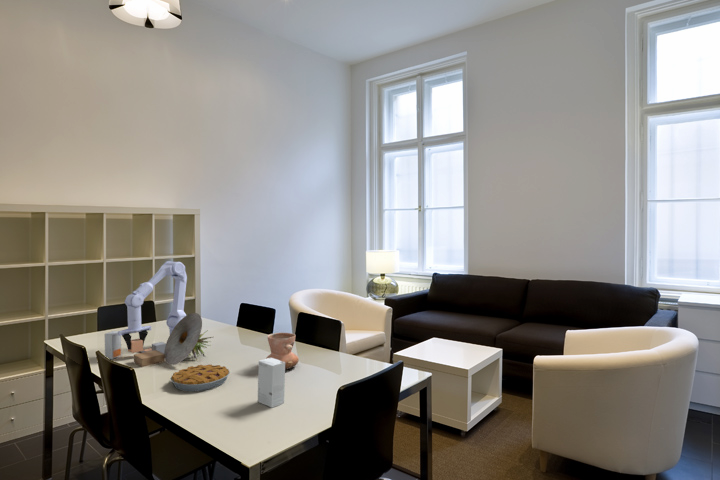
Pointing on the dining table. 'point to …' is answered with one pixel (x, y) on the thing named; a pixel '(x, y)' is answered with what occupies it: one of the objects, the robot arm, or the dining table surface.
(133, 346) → the terracotta cube
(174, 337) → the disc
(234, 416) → the dining table surface
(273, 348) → the ceramic jug
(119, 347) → the skincare box
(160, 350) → the slate grey cube
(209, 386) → the pie
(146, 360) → the walnut block
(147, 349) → the tile
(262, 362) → the skincare box
